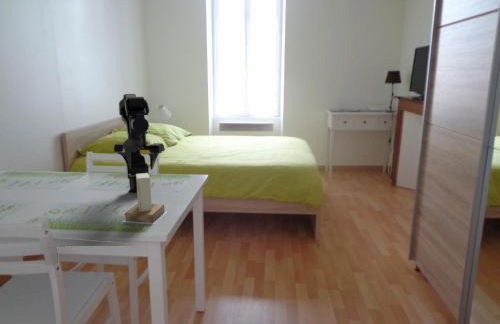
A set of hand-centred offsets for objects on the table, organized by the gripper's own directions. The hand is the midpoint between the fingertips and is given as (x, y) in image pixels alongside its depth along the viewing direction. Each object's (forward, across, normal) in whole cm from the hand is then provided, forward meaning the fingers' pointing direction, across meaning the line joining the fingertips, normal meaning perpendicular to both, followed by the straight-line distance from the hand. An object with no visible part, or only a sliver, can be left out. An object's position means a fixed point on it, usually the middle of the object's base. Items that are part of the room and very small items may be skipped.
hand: (140, 169), depth 145 cm
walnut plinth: (+13, +9, -17) cm, 23 cm away
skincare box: (+10, +9, -17) cm, 22 cm away
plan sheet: (+13, +9, -17) cm, 23 cm away
